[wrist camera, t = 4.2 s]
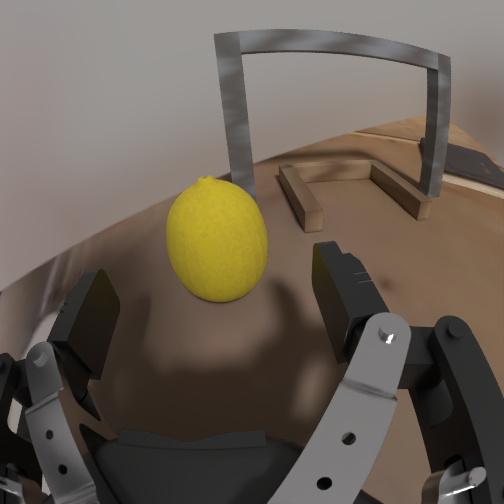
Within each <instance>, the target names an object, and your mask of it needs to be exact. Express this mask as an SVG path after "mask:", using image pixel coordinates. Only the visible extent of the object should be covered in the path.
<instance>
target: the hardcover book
mask: <svg viewBox="0 0 504 504" xmlns="http://www.w3.org/2000/svg"><path fill="white" fill-rule="evenodd" d="M424 143H425V138H424V137H423V138H421V141H420V145H421V148H422V151H423V153H424ZM442 181H446V182H449V183H453V184H457V185H461V186H464V187H468V188H471V189H475V190H478V191H481V192H485V193H488V194H491V195H494V196H497V197H500V198H503V199H504V173H503V172H502V171H501V170H500V169H499V168H498V167H497V166H496V165H495V164H494V163H493V161H492V160H491V159H490V158H489V157H488V156H487V155H486V154H484V153H481V152H478V151H475V150H471V149H468V148H464V147H461V146H457V145H453V144H449V143H447V151H446V159H445V166H444V172H443V178H442Z"/></svg>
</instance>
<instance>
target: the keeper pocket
mask: <svg viewBox="0 0 504 504" xmlns="http://www.w3.org/2000/svg"><path fill="white" fill-rule="evenodd" d="M214 40H215V48H216V57H217V66H218V74H219V82H220V90H221V98H222V106H223V114H224V122H225V130H226V138H227V146H228V153H229V161H230V168H231V176H232V184H235V185H237V186H239V187H240V188H242V189H243V190H244V191H246V192H247V193H248V194H249V195H250V196H251V197H252V198H253V200H254V201H255V203H256V192H255V182H254V172H253V162H252V152H251V143H250V132H249V122H248V113H247V104H246V94H245V85H244V75H243V66H242V57H241V55H243V54H255V53H276V52H312V53H313V52H314V53H332V54H345V55H355V56H363V57H371V58H377V59H384V60H390V61H395V62H400V63H406V64H410V65H414V66H418V67H423V68H427V117H426V132H425V143H424V153H423V162H422V169H421V176H420V183H419V189H416V188H415V187H414V186H413V185H411V184H410V183H409V182H407V181H406V180H404V179H403V178H402V177H400V176H399V175H398V174H396V173H395V172H393V171H392V170H390V169H389V168H388V167H386V166H385V165H383V164H382V163H380V162H379V161H377V160H349V161H326V162H309V163H295V164H283V165H279V177H280V182H281V184H282V186H283V188H284V190H285V192H286V194H287V196H288V198H289V200H290V202H291V204H292V206H293V208H294V210H295V213H296V215H297V217H298V219H299V221H300V223H301V225H302V227H303V229H304V232H305V233H307V232H315V231H322V223H323V209H322V207H321V206H320V204H319V203H318V201H317V200H316V198H315V197H314V195H313V194H312V192H311V191H310V190H309V188H308V187H307V185H306V184H305V183H308V182H321V181H335V180H351V179H372V180H373V181H374V182H375V183H377V184H378V185H379V186H380V187H381V188H382V189H384V190H385V191H386V192H387V193H388V194H389V195H390V196H392V197H393V198H394V199H395V200H396V201H397V202H398V203H399V204H400V205H402V206H403V207H404V208H405V209H406V210H407V211H408V212H409V213H410V214H411V215H412V216H413V217H414V218H415V219H416V220H424V219H428V218H429V214H430V209H431V204H432V200H430V199H429V198H428V197H435V196H439V194H440V189H441V184H442V178H443V172H444V166H445V159H446V151H447V143H448V133H449V121H450V103H451V62H450V57H448V56H445V55H443V54H439V53H436V52H433V51H430V50H427V49H423V48H420V47H416V46H412V45H409V44H404V43H400V42H396V41H391V40H387V39H382V38H376V37H371V36H365V35H358V34H350V33H342V32H333V31H320V30H299V29H273V30H272V29H271V30H250V31H239V32H238V31H237V32H228V33H219V34H214ZM420 191H421V192H420ZM425 195H426V196H425ZM256 204H257V203H256Z"/></svg>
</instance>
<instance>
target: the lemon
mask: <svg viewBox="0 0 504 504" xmlns="http://www.w3.org/2000/svg"><path fill="white" fill-rule="evenodd" d="M166 240H167V250H168V255H169V259H170V262H171V265H172V267H173V269H174V271H175V273H176V275H177V277H178V278H179V280H180V281H181V283H182V284H183V285H184V286H185V287H186V288H187V289H188V290H189V291H190V292H192V293H193V294H194V295H196V296H198V297H200V298H202V299H205V300H207V301H212V302H228V301H233V300H235V299H238V298H240V297H242V296H244V295H245V294H247V293H248V292H250V291H251V290H252V289H253V287H254V286H255V285H256V284H257V283H258V282H259V280H260V278H261V276H262V274H263V272H264V270H265V267H266V262H267V254H268V238H267V232H266V227H265V224H264V221H263V218H262V216H261V213H260V211H259V208H258V206H257V204H256V203H255V201H254V200H253V198H252V197H251V196H250V195H249V194H248V193H247V192H246V191H244V190H243V189H242V188H240V187H239V186H237V185H235V184H232V183H230V182H227V181H223V180H216V179H215V178H213V177H212V176H210V175H209V176H202V177H200V178H199V179H198V181H197V182H196V184H194V185H192V186H190V187H189V188H187V189H186V190H185V191H184V192H183V193H182V194H180V195H179V197H178V198H177V199H176V200H175V202H174V204H173V205H172V207H171V209H170V212H169V215H168V218H167V226H166Z"/></svg>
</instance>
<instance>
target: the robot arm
mask: <svg viewBox="0 0 504 504" xmlns="http://www.w3.org/2000/svg"><path fill="white" fill-rule="evenodd" d="M312 286H313V291H314V294H315V297H316V300H317V303H318V306H319V309H320V312H321V314H322V317H323V320H324V323H325V326H326V329H327V332H328V335H329V338H330V341H331V344H332V347H333V351H334V354H335V357H336V360H337V363H338V364H340V363H344V362H348V365H349V367H348V369H347V371H346V374H345V376H344V378H343V380H342V381H341V382H340V384H339V386H338V388H337V390H336V392H335V394H334V396H333V398H332V400H331V402H330V404H329V406H328V408H327V410H326V412H325V414H324V416H323V417H322V419H321V421H320V423H319V425H318V426H317V428H316V430H315V432H314V433H313V435H312V437H311V439H310V440H309V442H308V444H307V445H306V447H305V448H304V447H302V446H300V445H298V444H295V443H293V442H290V441H287V440H284V439H280V438H275V437H266V433H265V429H263V430H254V431H242V432H228V433H223V434H219V435H215V436H212V437H208V438H204V439H200V440H196V441H192V442H182V441H178V440H175V439H171V438H168V437H165V436H161V435H158V434H155V433H152V432H144V431H133V430H124V429H119V436H118V435H117V434H116V433H115V432H114V431H113V430H112V429H111V428H110V426H109V425H108V423H107V421H106V419H105V417H104V415H103V413H102V411H101V409H100V407H99V405H98V403H97V400H96V398H95V396H94V394H93V391H92V389H91V387H90V386H89V385H88V381H89V379H95V380H100V379H101V375H102V371H103V367H104V363H105V359H106V356H107V352H108V348H109V345H110V341H111V338H112V335H113V331H114V328H115V325H116V322H117V318H118V315H119V312H120V303H119V299H118V296H117V295H116V293H115V291H114V289H113V287H112V285H111V283H110V281H109V279H108V277H107V275H106V273H105V271H104V270H102V269H99V270H91V271H85V272H84V273H83V275H82V277H81V279H80V281H79V283H78V284H77V285H76V286H75V287H74V288H73V289H72V291H71V292H70V293H69V294H68V296H67V298H66V300H65V302H64V305H63V306H62V308H61V310H60V313H59V314H58V316H57V318H56V321H55V323H54V325H53V327H52V330H51V332H50V334H49V336H48V339H47V341H46V342H40V343H38V344H36V345H35V346H33V348H31V349H30V351H29V352H28V354H27V357H26V359H23V360H19V361H15V360H14V359H13V358H12V357H11V356H10V355H9V354H8V353H2V354H0V504H383V503H382V502H380V501H379V500H377V499H375V498H374V497H372V496H371V495H369V494H368V493H366V492H365V491H363V490H362V489H361V487H362V486H363V484H364V482H365V480H366V478H367V476H368V474H369V472H370V470H371V468H372V465H373V463H374V461H375V459H376V457H377V454H378V452H379V450H380V448H381V445H382V443H383V440H384V438H385V435H386V433H387V430H388V428H389V425H390V422H391V420H392V417H393V414H394V411H395V408H396V404H397V398H396V397H395V394H396V390H397V389H408V391H409V394H410V397H411V400H412V403H413V406H414V409H415V412H416V416H417V419H418V422H419V426H420V429H421V433H422V436H423V440H424V444H425V448H426V452H427V456H428V460H429V464H430V469H431V473H432V474H431V475H430V476H429V478H428V479H427V480H426V482H425V483H424V486H423V488H422V493H421V495H422V500H421V504H504V398H503V395H502V393H501V390H500V388H499V386H498V383H497V381H496V379H495V377H494V374H493V372H492V370H491V368H490V366H489V364H488V362H487V360H486V358H485V356H484V354H483V352H482V350H481V348H480V346H479V344H478V342H477V340H476V339H475V337H474V335H473V333H472V331H471V329H470V328H469V326H468V325H467V324H466V323H465V322H464V321H463V320H462V319H460V318H458V317H455V316H444V317H442V318H440V319H439V320H438V321H437V323H436V324H435V326H434V327H414V326H409V325H408V324H407V322H406V321H405V320H404V319H403V318H401V317H400V316H398V315H396V314H393V313H390V312H389V310H388V308H387V306H386V304H385V303H384V301H383V299H382V297H381V295H380V294H379V292H378V290H377V288H376V287H375V285H374V283H373V281H371V278H370V276H369V275H368V273H366V270H365V268H364V266H363V265H362V263H361V261H360V260H358V259H357V258H356V257H355V256H353V255H352V254H351V253H346V254H342V252H341V250H340V249H339V247H338V245H337V243H336V242H335V241H330V242H322V243H315V244H314V246H313V261H312ZM12 398H14V399H15V400H16V401H17V402H19V403H20V404H21V405H22V410H21V415H20V419H19V424H18V429H17V433H16V434H15V433H14V432H12V431H11V430H10V429H9V427H8V423H7V419H8V414H9V410H10V406H11V402H12ZM42 474H43V475H44V477H45V480H46V482H47V485H48V487H49V489H50V492H51V494H50V495H49V496H48V495H47V494H46V493H44V492H42Z"/></svg>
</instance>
